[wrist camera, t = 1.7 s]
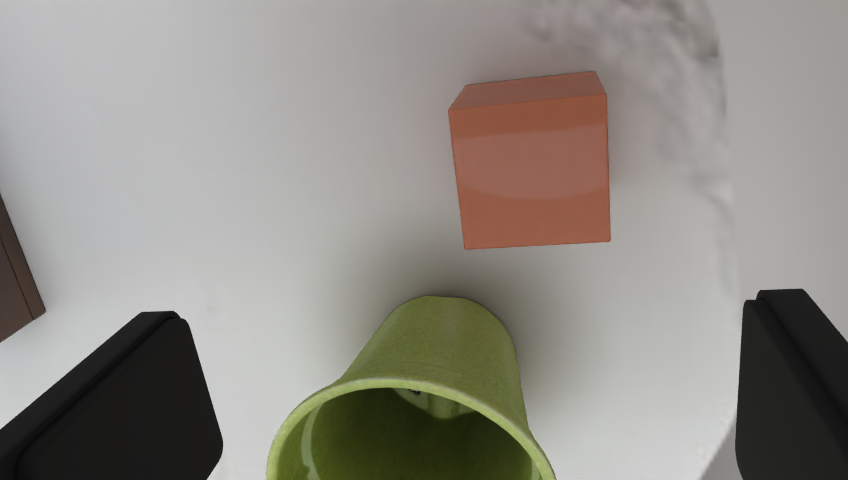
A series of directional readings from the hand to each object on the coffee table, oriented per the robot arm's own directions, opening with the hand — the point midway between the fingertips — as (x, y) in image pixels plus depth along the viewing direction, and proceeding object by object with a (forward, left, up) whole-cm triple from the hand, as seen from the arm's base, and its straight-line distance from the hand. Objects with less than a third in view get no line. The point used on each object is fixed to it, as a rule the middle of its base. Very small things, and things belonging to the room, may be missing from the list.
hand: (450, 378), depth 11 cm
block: (0, +1, -15) cm, 15 cm away
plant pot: (+9, -3, -15) cm, 18 cm away
